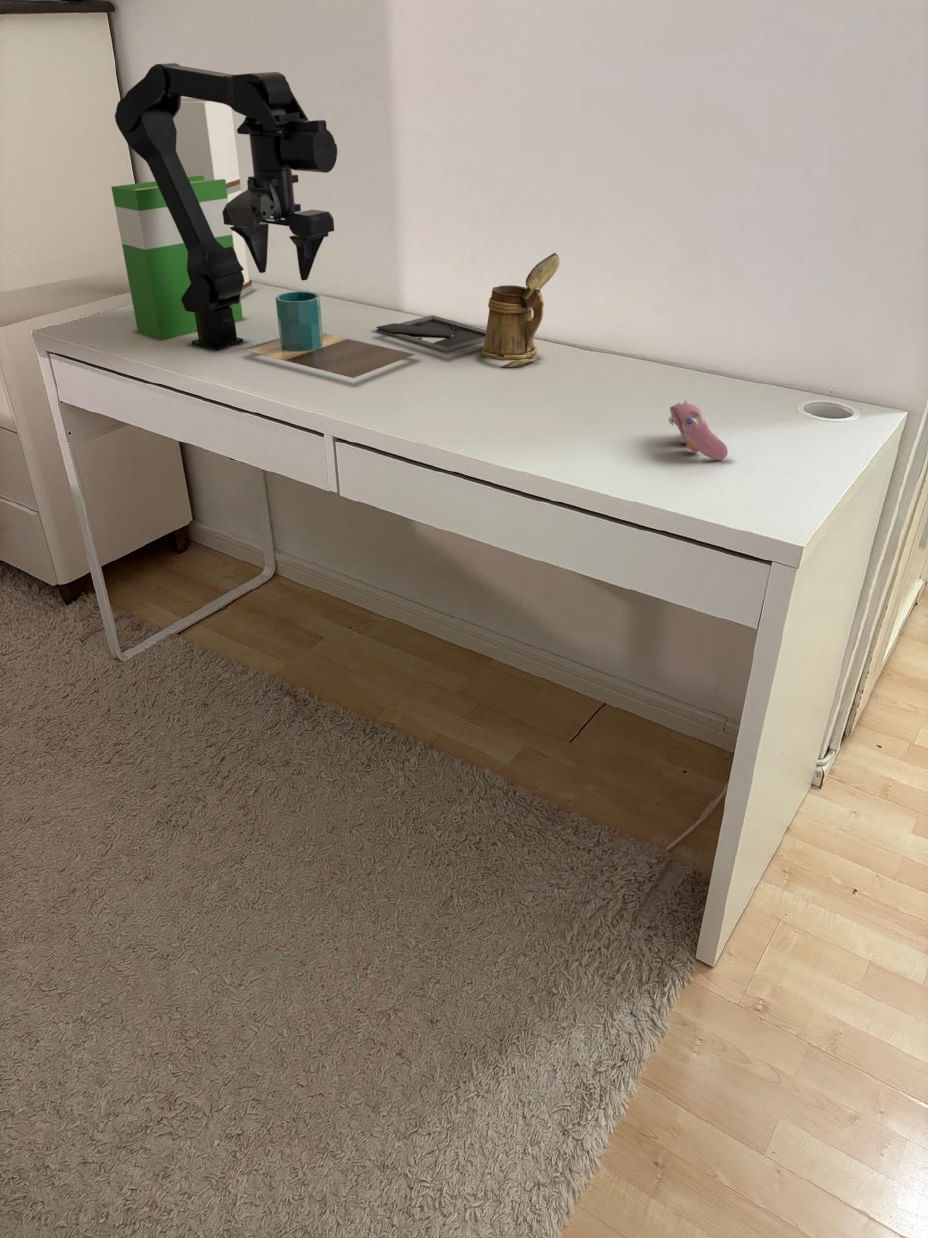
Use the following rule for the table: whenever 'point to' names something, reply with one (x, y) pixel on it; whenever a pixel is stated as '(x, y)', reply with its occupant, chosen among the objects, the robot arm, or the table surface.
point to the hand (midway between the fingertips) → (283, 276)
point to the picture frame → (436, 333)
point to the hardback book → (164, 253)
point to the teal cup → (299, 321)
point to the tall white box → (211, 154)
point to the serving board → (337, 355)
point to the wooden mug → (517, 316)
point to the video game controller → (696, 431)
